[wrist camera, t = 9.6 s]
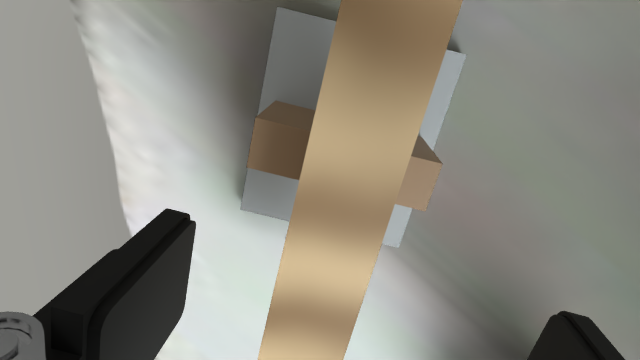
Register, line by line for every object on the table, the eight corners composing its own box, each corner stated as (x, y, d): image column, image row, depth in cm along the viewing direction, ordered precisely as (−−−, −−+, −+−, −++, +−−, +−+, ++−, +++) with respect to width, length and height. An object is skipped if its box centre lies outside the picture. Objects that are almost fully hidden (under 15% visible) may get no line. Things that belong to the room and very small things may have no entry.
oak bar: (357, -54, 17) (361, -88, 13) (445, -31, 17) (481, -57, 13) (272, 308, 24) (254, 373, 19) (335, 323, 24) (332, 391, 19)
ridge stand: (462, 54, 25) (503, 59, 18) (396, 241, 30) (410, 298, 23) (279, 7, 25) (255, -4, 18) (243, 203, 30) (214, 250, 23)
